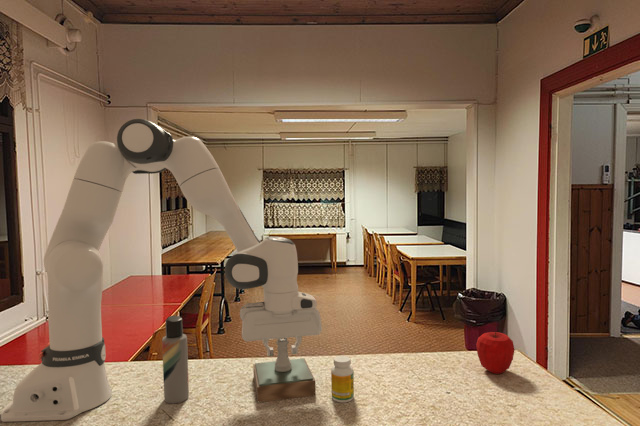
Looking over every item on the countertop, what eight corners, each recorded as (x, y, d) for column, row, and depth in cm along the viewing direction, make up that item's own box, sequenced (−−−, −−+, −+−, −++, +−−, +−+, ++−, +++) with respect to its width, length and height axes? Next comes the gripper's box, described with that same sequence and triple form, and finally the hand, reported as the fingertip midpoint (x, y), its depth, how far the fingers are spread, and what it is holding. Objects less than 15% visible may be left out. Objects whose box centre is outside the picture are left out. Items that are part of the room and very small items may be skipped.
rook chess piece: (283, 364, 114) (282, 334, 114) (295, 368, 111) (294, 338, 111) (270, 369, 111) (270, 339, 110) (283, 374, 108) (282, 343, 107)
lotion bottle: (182, 390, 109) (179, 312, 108) (193, 398, 105) (190, 316, 104) (160, 398, 105) (157, 317, 104) (170, 406, 101) (167, 322, 100)
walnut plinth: (257, 402, 102) (257, 385, 102) (253, 377, 116) (253, 362, 116) (315, 395, 105) (315, 379, 105) (304, 371, 119) (304, 357, 119)
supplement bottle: (330, 392, 106) (330, 354, 106) (352, 392, 106) (352, 354, 106) (332, 403, 101) (331, 363, 100) (355, 403, 101) (354, 362, 100)
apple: (485, 360, 124) (485, 323, 123) (519, 370, 117) (520, 330, 117) (469, 371, 117) (469, 332, 116) (505, 382, 110) (506, 340, 110)
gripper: (240, 307, 104) (241, 363, 105) (322, 300, 108) (323, 354, 109) (239, 300, 110) (240, 353, 111) (317, 294, 115) (318, 346, 115)
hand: (282, 354), depth 110 cm, fingers open, 5 cm apart
